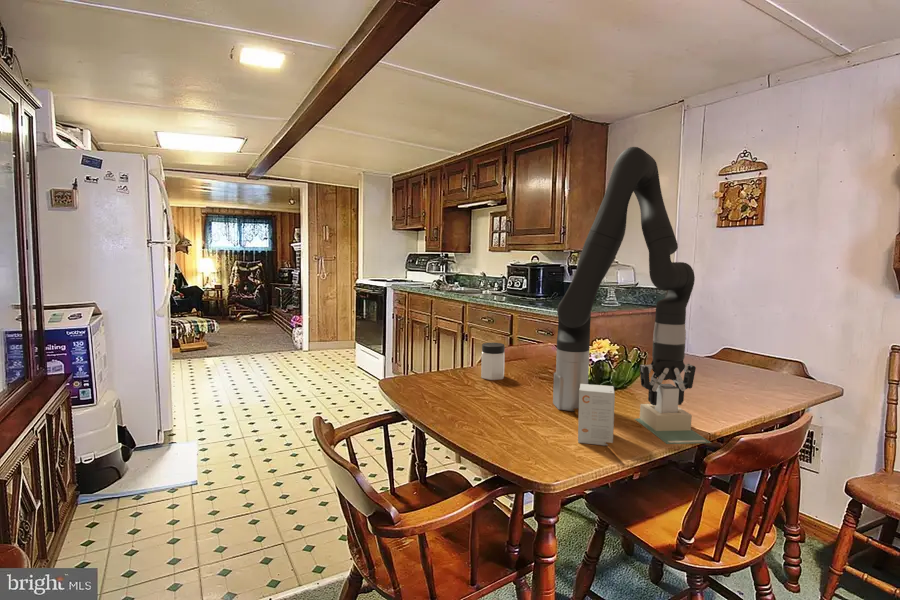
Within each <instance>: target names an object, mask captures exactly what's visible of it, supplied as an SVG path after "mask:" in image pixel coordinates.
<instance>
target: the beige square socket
mask: <svg viewBox="0 0 900 600" xmlns="http://www.w3.org/2000/svg"><path fill="white" fill-rule="evenodd" d="M639 406H640V407H639V418H640V419H641V420H642V421H644V422H645V423H646V424H648V425H649V426H650V427H652V428H653V429H654V430H655V431H683V430H692V416H693V415H692V414H691V413H689V411H686V410H684V409H683V408H681V407H679V406H678V413H659V412H658V411H656V410H655V405H652V404H650V403H640V405H639Z"/></svg>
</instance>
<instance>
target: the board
mask: <svg viewBox="0 0 900 600" xmlns="http://www.w3.org/2000/svg"><path fill="white" fill-rule="evenodd" d="M634 420H635V421H636V422H638V423H639V424H640V425H642V426H643V427H644V428H645V429H647V430H648V431H650V433H652V434H653V435H654V436H656V437H657V438H658V439H660V440H661V441H662V442H664V444H666V445H686V444H687V445H688V444H689V445H690V444H712V442H711V441H710V440H708V439H706V438H705V437H704V436H703V435H700V434H699V433H698V432H696V431H694V430H693V429H691V430H683V431H655V430H654V429H653V428H652V427H650V426H649V425H648V424H646V423H645V422H644V421H642V420H641V419H640V417H639V418H634Z"/></svg>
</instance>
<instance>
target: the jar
mask: <svg viewBox="0 0 900 600" xmlns="http://www.w3.org/2000/svg"><path fill="white" fill-rule="evenodd" d="M505 349H506V348H505V344H504V343H501V342H484V343H482V344H481V359H480V360H481V361H480V362H481V363H480V364H481V366H480V367H481V369H480V373H481V374H480V375H481V376H480V378H481V379H483V380H484V379H486V380H489V381H499V380H503V379H504V378H505Z"/></svg>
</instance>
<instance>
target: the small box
mask: <svg viewBox="0 0 900 600" xmlns="http://www.w3.org/2000/svg"><path fill="white" fill-rule="evenodd" d="M615 394H616V392H615V387H614V386H613V385H604V384H603V385H601V384H590V383H588V384H580V389H579V408H578V421H577V423H578V427H577V428H578V429H577V442H578V443H579V444H587V445H588V444H589V445H598V446H607V447H609V444H608V443H610V444H613V443H614V427H615V426H614V424H615V402H616V401H615V398H616V397H615V396H616V395H615Z"/></svg>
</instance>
